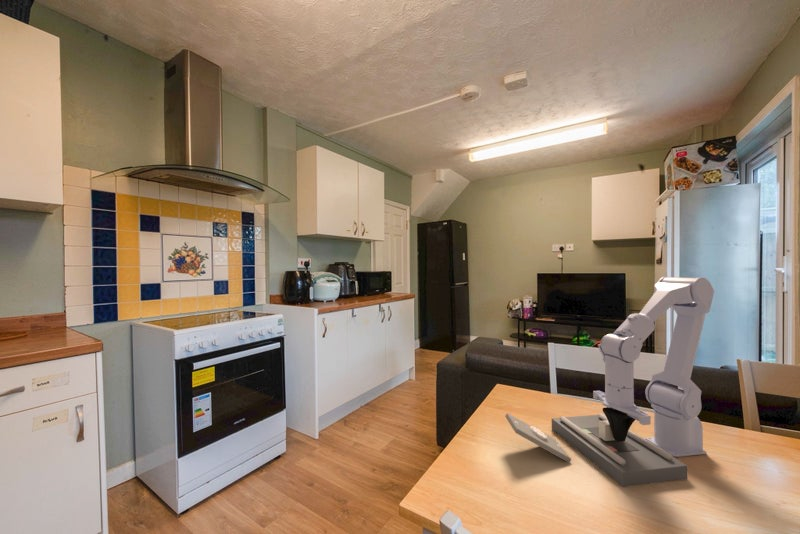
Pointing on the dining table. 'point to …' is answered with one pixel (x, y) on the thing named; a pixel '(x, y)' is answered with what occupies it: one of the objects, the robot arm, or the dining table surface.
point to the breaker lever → (605, 431)
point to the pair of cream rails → (607, 450)
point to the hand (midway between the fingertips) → (619, 439)
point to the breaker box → (621, 455)
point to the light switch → (537, 437)
